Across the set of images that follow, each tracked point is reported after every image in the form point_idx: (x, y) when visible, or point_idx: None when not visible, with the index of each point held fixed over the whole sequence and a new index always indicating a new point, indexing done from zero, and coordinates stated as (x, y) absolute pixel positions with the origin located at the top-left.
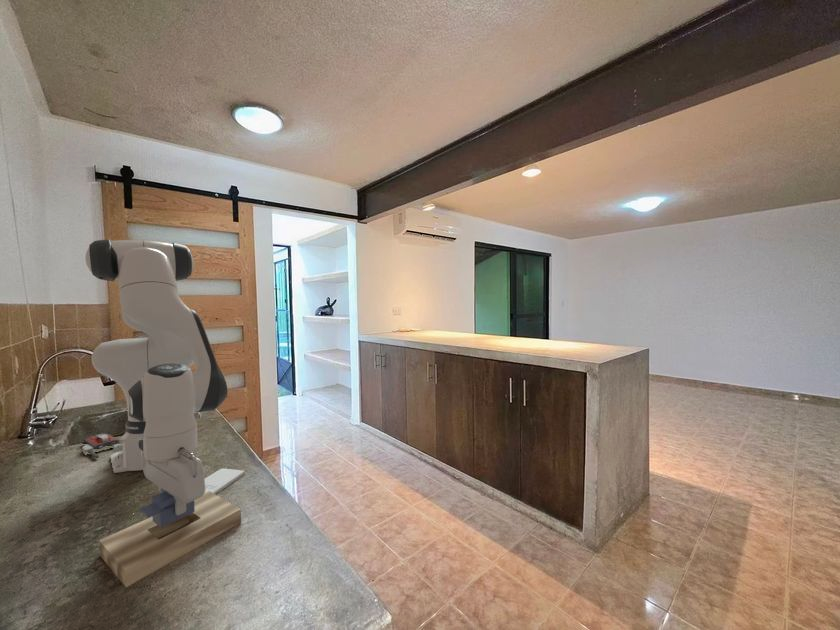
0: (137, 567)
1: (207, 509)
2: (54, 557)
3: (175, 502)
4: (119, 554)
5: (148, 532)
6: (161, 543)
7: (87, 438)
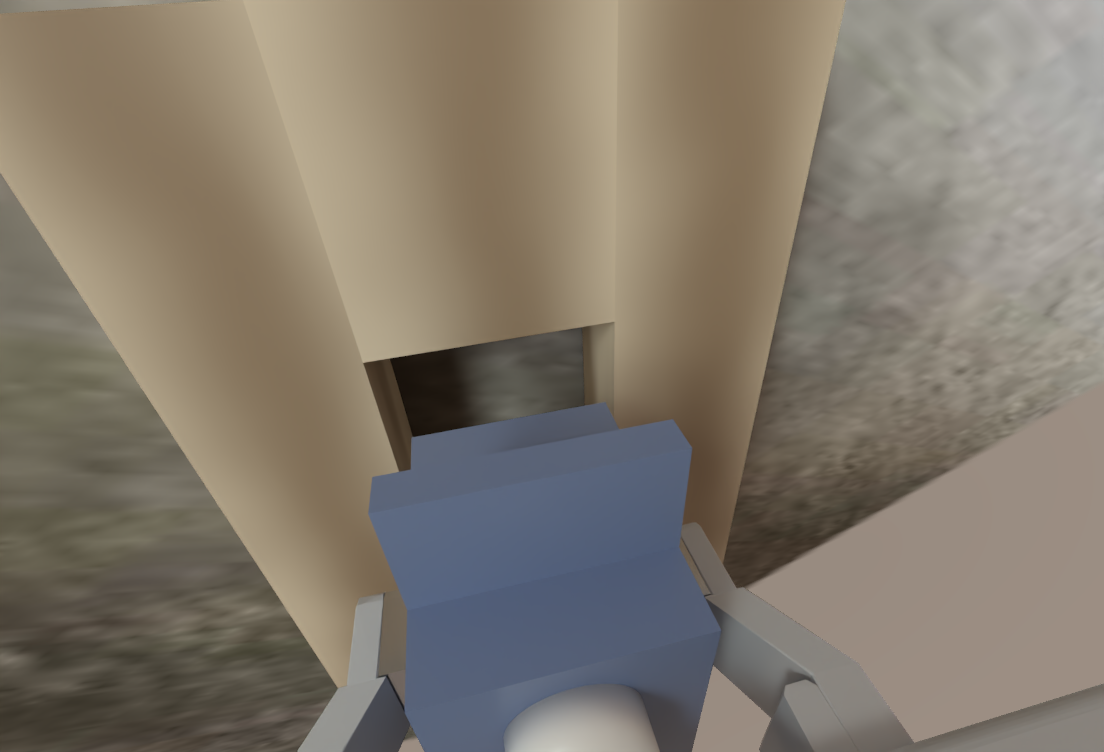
0: None
1: (512, 238)
2: (225, 721)
3: (755, 700)
4: None
5: None
6: None
7: None
